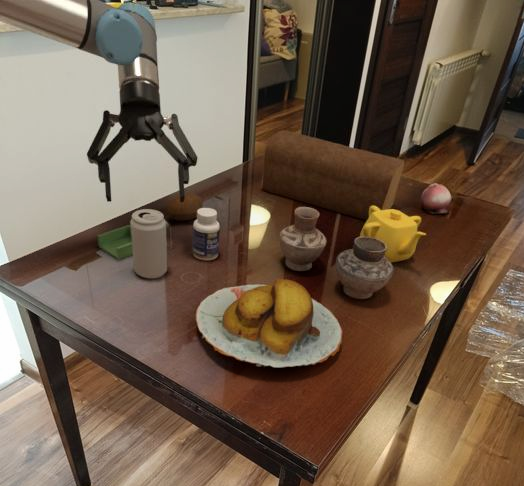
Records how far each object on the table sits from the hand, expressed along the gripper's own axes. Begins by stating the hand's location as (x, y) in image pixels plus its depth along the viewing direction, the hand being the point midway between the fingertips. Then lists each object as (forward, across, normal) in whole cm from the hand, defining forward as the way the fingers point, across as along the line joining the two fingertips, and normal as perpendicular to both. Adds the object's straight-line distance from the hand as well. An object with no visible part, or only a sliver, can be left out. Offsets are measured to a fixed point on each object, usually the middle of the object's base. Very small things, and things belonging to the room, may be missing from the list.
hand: (146, 199), depth 91 cm
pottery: (+16, -36, -2) cm, 39 cm away
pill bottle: (+8, -12, -10) cm, 17 cm away
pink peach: (-7, -77, -25) cm, 81 cm away
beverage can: (+13, 0, -5) cm, 14 cm away
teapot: (+9, -53, -9) cm, 54 cm away
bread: (-12, -48, -30) cm, 58 cm away
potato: (-3, -9, -21) cm, 23 cm away
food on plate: (+27, -20, +9) cm, 35 cm away
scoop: (+4, +2, -14) cm, 14 cm away
